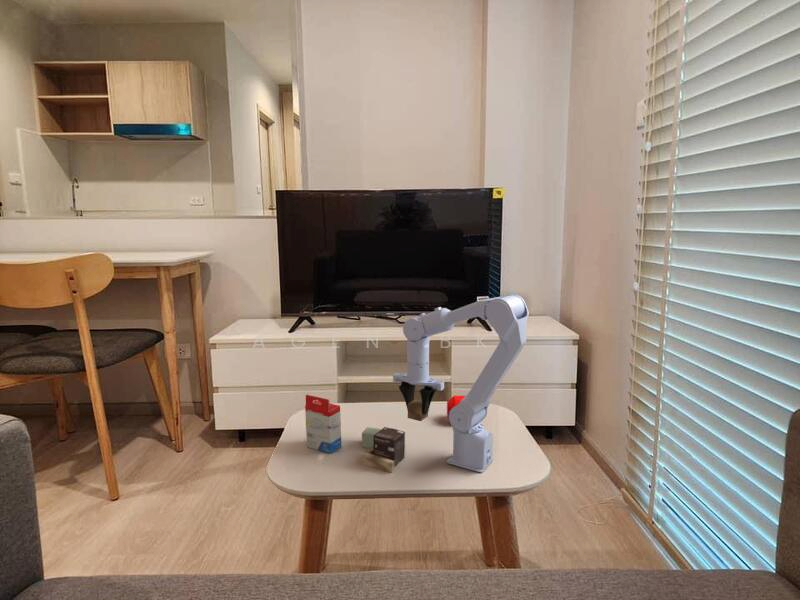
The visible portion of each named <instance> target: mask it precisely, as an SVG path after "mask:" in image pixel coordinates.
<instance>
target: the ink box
mask: <svg viewBox="0 0 800 600" xmlns="http://www.w3.org/2000/svg"><path fill="white" fill-rule="evenodd" d="M304 411H305V414H304V415H305V432H306V433H305V434H306V435H305V437H306V439H305V440H306V447H307V448H310V449H313V450H316V451H321V452H324V453H327V454H332V453H334V452H335V451H337V450H338V449H340V448H341V447H342V424H341V423H342V422H341V419H342V418H341V405H339V404H334V403H330V399H328V398H323V397H318V396H314V395H310V394H305V405H304Z"/></svg>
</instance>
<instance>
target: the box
mask: <svg viewBox="0 0 800 600" xmlns="http://www.w3.org/2000/svg"><path fill="white" fill-rule="evenodd" d="M380 429H381V430H380V431H379V432H377V433H376V434H375V435H374V440H373V442H374V447H373V455H376V456H379V457H383V458H386V459H389V460H393V461H394V468H396V467H397V465H398V464H400V462H402V461H403V460H404V459H405V452H406V450H405V449H406V448H405V446H406V445H405V441H406V440H405V439H406V432H405V431H403V430H399V429H397V428H390V427H386V426H384V427H383V428H380Z"/></svg>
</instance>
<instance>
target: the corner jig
mask: <svg viewBox="0 0 800 600" xmlns="http://www.w3.org/2000/svg"><path fill="white" fill-rule="evenodd" d="M373 447H374V446H372V447H371V448H368V449H367V450H365V451H363V452H362V453H361V455H360V456H361V459H360V461H361V464H363V465H366V466H369V467H372V468H375V469H378V470H382V471H385V472H387V473H392V474H393V472H395V467H394V461H393V460H389V459H386V458H383V457H379V456H376V455H373Z"/></svg>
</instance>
